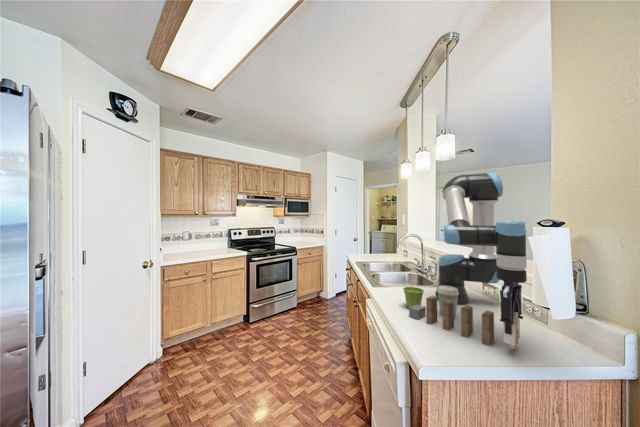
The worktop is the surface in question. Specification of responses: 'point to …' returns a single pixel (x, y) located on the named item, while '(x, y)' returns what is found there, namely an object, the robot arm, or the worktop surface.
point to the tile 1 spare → (515, 331)
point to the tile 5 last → (431, 309)
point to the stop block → (417, 312)
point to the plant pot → (413, 296)
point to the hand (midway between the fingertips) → (512, 340)
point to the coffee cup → (447, 297)
